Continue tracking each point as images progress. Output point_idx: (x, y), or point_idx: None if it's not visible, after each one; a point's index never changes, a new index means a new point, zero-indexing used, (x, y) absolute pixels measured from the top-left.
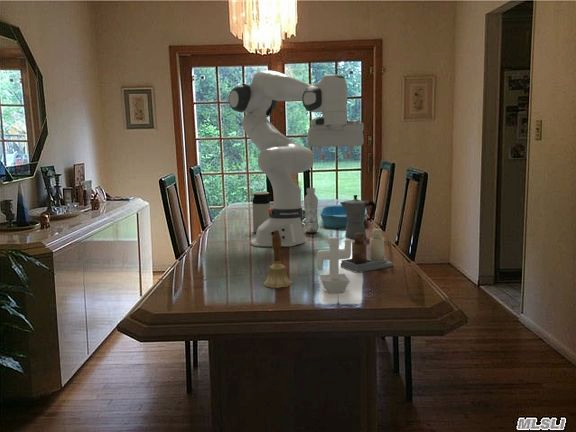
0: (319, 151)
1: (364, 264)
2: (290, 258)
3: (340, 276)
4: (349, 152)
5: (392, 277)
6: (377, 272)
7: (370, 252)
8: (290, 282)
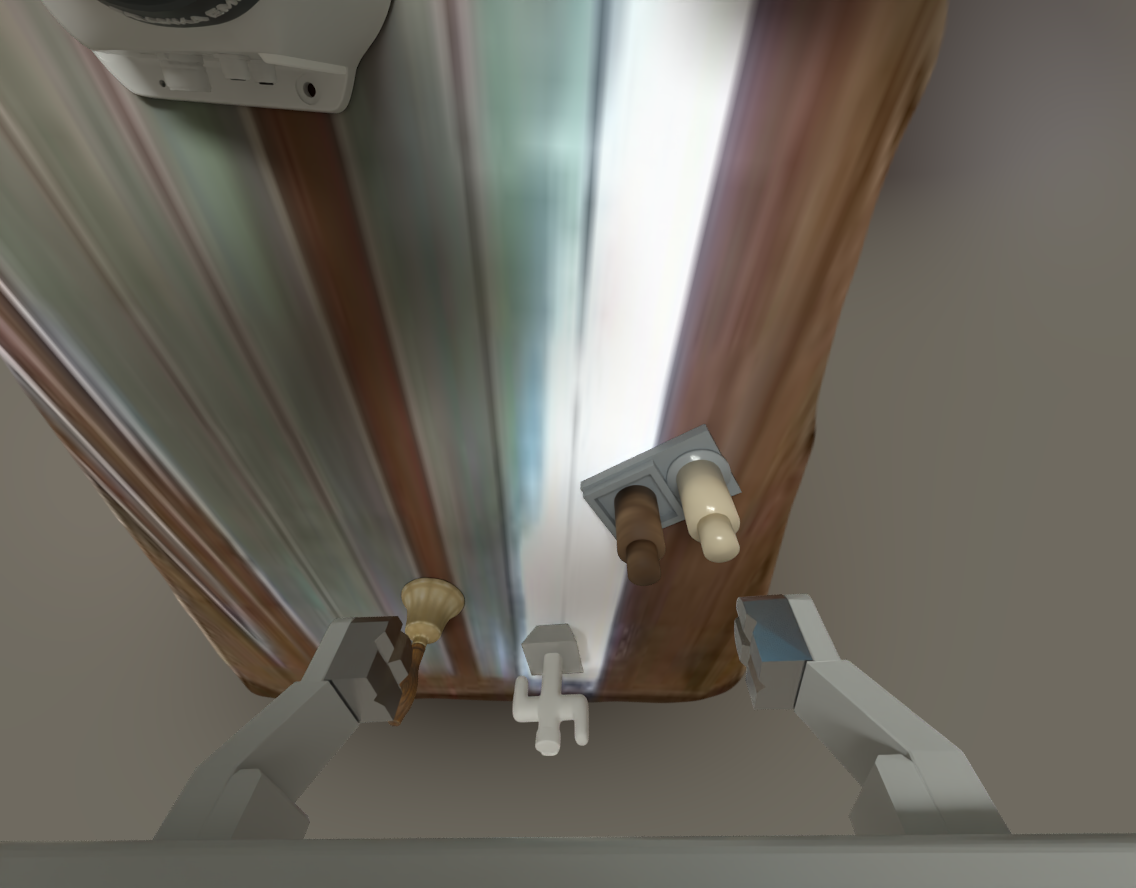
0: (293, 786)
1: None
2: (403, 369)
3: (566, 652)
4: (822, 724)
5: (697, 572)
6: (673, 535)
7: (680, 499)
8: (460, 607)
